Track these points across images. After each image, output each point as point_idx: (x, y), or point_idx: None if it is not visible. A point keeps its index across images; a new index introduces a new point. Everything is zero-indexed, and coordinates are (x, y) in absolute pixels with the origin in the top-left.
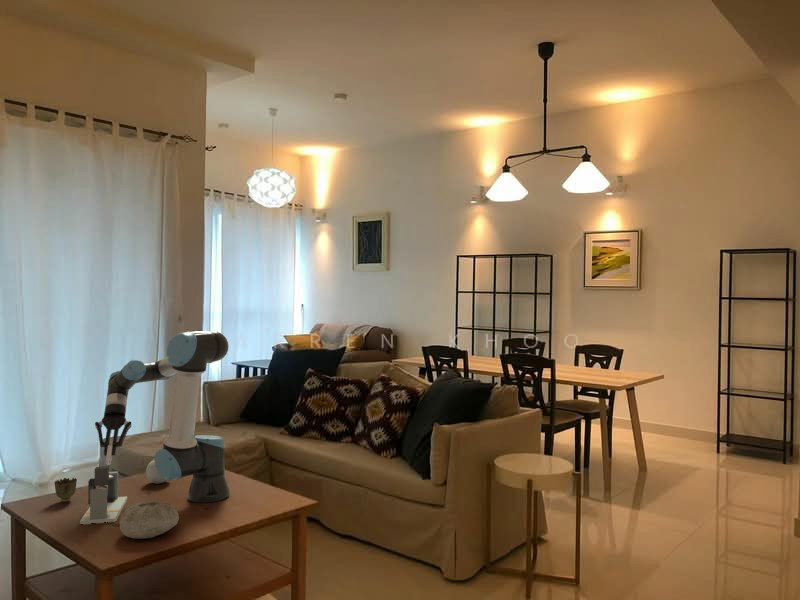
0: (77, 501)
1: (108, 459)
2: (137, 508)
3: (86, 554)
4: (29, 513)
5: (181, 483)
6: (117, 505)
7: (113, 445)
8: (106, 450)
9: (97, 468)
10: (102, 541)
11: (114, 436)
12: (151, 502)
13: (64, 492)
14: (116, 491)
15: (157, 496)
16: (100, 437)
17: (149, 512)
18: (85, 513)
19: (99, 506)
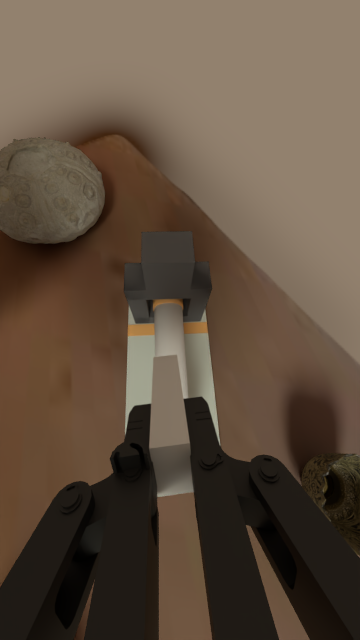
0: None
1: (164, 361)
2: (55, 146)
3: (150, 169)
4: (355, 381)
5: None
6: (140, 373)
7: (142, 464)
8: (193, 416)
9: (182, 238)
10: (137, 204)
11: (128, 612)
12: (23, 177)
13: (326, 454)
14: None
15: (29, 484)
16: (332, 554)
17: (33, 138)
18: (205, 322)
19: None
